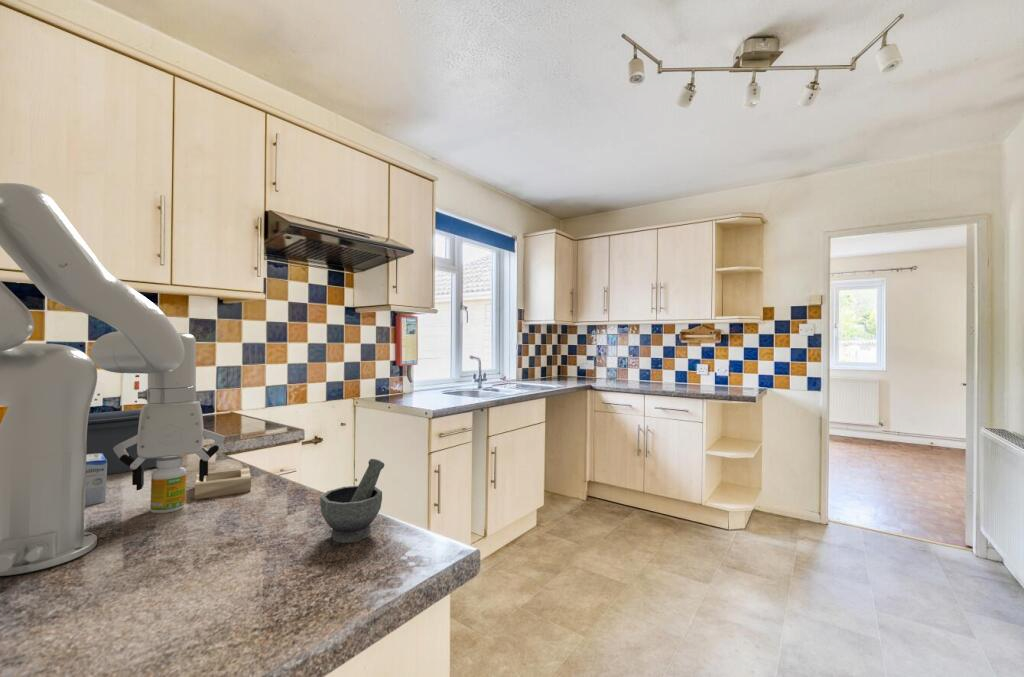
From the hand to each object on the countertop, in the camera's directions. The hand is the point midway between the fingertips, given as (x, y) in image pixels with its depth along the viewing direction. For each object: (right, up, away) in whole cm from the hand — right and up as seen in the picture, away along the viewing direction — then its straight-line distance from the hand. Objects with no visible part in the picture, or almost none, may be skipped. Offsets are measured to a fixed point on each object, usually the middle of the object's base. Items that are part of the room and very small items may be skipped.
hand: (171, 483), depth 88 cm
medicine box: (-19, -5, +4) cm, 20 cm away
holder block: (+3, -5, +12) cm, 13 cm away
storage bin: (-33, -5, +26) cm, 42 cm away
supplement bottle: (0, -5, -1) cm, 5 cm away
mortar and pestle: (+40, -5, -11) cm, 41 cm away
